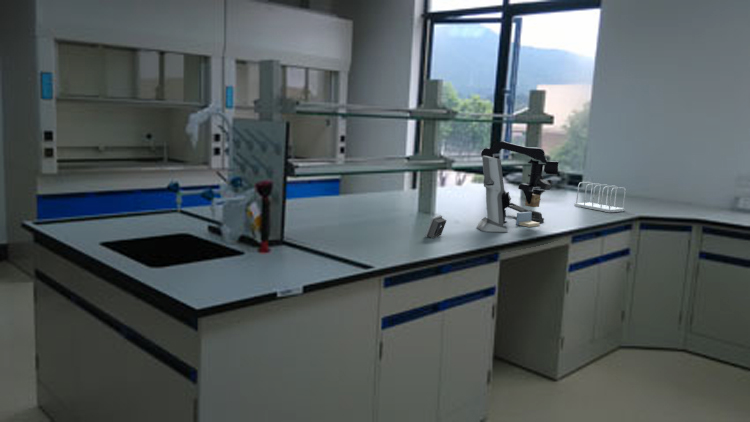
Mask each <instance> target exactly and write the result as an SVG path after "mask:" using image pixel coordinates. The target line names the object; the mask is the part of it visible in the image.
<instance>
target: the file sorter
mask: <svg viewBox="0 0 750 422" xmlns="http://www.w3.org/2000/svg"><path fill="white" fill-rule="evenodd" d="M587 183H588V184H587ZM581 184H586V185H585V190H584V201H583V202H578V198H579V189H580V185H581ZM594 185H595V186H594ZM588 186H591V188H590V197H589V201H588V202H586V199H587V190H588ZM593 186H594V187H593ZM601 186H604V187H603V188H602V187H601ZM597 187H599V191H598V199H597V203H595V192H596V188H597ZM601 188H602V192H601ZM606 188H607V189H606ZM609 188H612V189H611V191H610V198H609V190H610V189H609ZM605 189H606V190H607V192H606V198H605V199H606V200H605V204H603V199H604V191H605ZM618 189H623V190H624V192H623V193H624V194H623V201H622V207H618V206H617V207H616V203H617V202H616V201H617V192H618ZM614 190H615V194H614V204H613V206H611V205H612V196H613V192H614ZM626 191H627V189H626V187H618V186H617V185H608V184H607V183H606V184H605V183H603V184H601V183H599V182H596V183H593V182H592V181H580V182H579V183H578V185H577V192H576V193H577V194H576V202H575V203H574V204H573V205H574V207H576V208H577V207H578V208H585V209H590V210H596V211H600V212H605V213H617V212H618V213H619V212H626V208H624V207H625V200H626ZM601 193H602V194H601ZM600 196H601V200H600ZM608 199H609V205H608ZM600 201H601V202H600Z"/></svg>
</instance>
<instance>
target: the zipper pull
mask: <svg viewBox="0 0 750 422" xmlns="http://www.w3.org/2000/svg"><path fill="white" fill-rule="evenodd" d="M508 208H509V209H511V210H513V211H516V212H518V213H521V212H532V217H531V221H534V222H538V223H540V224H543V223H544V222H545V221H544V220H545V218H544V217H543V214H542V213H541V212H539V211H535V210H531V209H530V210H528V209H526V208H524V207H521V206H520V205H518V204H515V203H513V202H510V205H509V206H508V207H507V209H508Z"/></svg>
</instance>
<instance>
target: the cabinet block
mask: <svg viewBox="0 0 750 422" xmlns="http://www.w3.org/2000/svg"><path fill="white" fill-rule="evenodd" d="M541 195H542V194H541ZM541 195H538V194H532V198H531V203H530V204H528V202H527V199H526V198H525V203H524V206H526V207H530V208H538V207H540V202H541Z"/></svg>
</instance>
